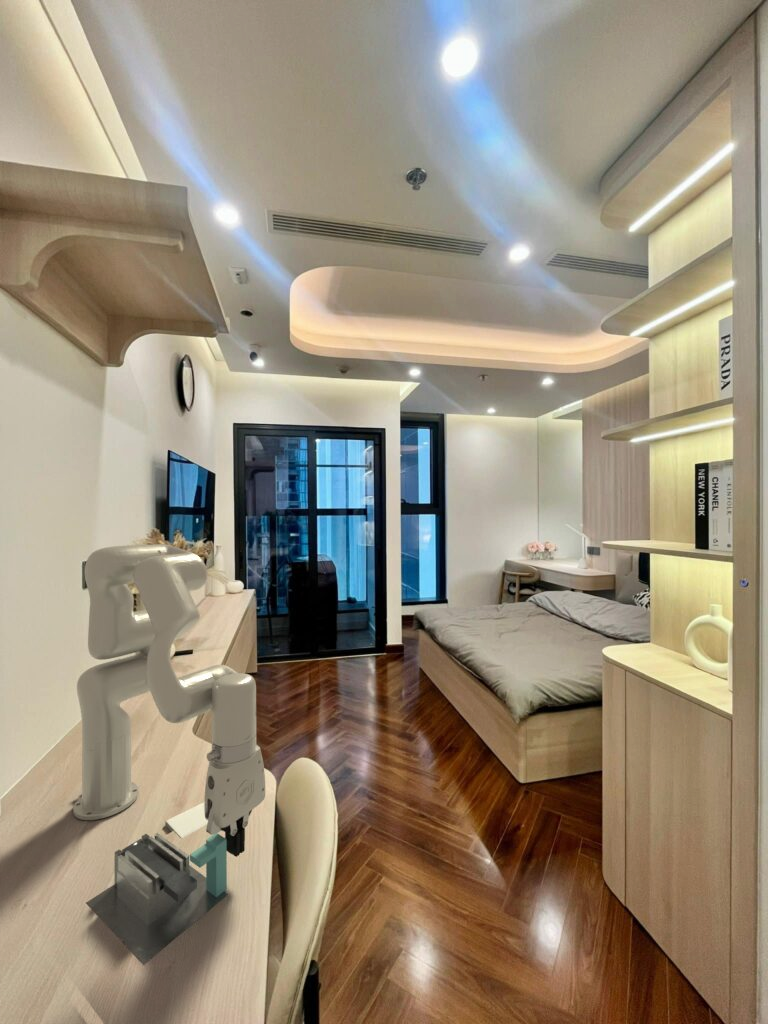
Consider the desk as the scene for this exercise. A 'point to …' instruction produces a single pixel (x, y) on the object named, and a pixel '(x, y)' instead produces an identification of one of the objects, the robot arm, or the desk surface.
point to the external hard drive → (188, 821)
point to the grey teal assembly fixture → (150, 901)
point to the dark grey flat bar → (164, 871)
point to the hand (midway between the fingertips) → (235, 850)
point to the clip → (213, 863)
